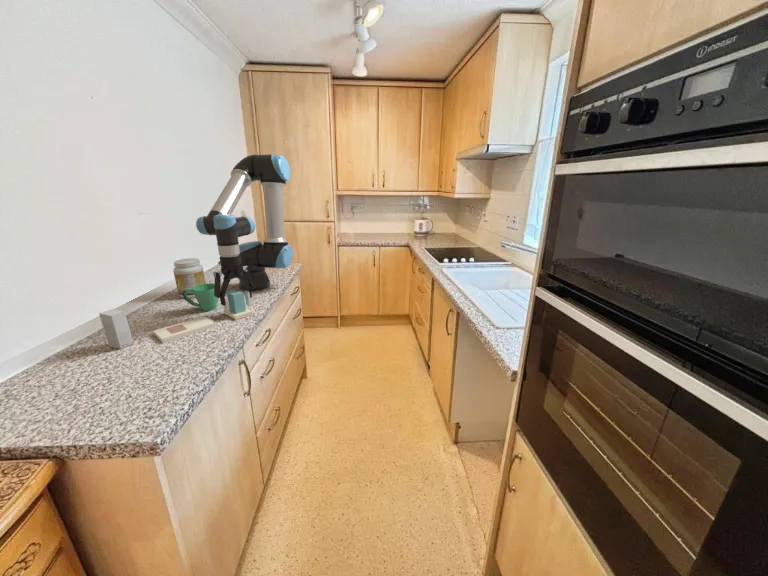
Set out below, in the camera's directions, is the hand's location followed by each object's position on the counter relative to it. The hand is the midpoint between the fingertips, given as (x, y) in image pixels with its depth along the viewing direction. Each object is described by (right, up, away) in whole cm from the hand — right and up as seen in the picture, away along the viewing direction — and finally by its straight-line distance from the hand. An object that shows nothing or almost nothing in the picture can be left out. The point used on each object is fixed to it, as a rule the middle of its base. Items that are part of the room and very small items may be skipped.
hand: (238, 308), depth 130 cm
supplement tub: (-32, +5, +23) cm, 40 cm away
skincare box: (-28, -11, -24) cm, 39 cm away
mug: (-17, -1, +6) cm, 18 cm away
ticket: (-13, -7, -13) cm, 20 cm away
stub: (0, -2, +1) cm, 2 cm away
